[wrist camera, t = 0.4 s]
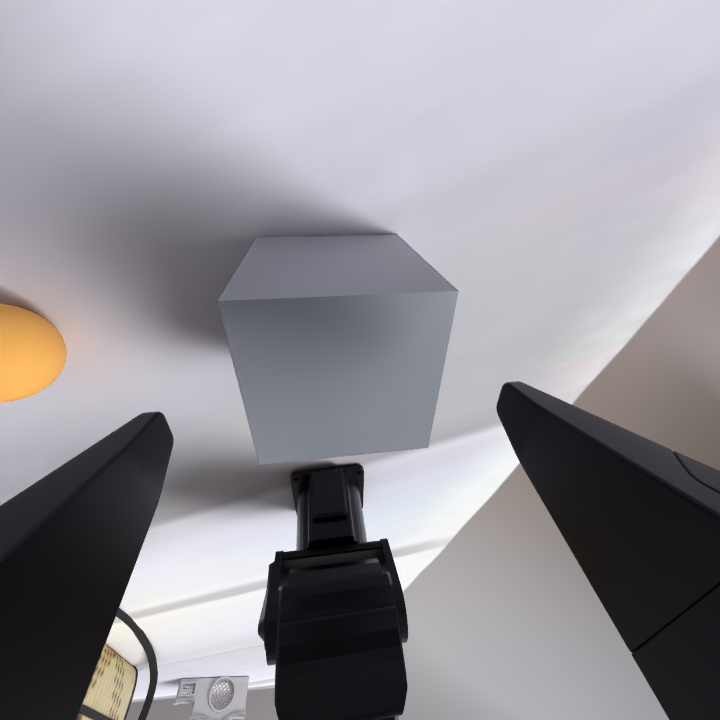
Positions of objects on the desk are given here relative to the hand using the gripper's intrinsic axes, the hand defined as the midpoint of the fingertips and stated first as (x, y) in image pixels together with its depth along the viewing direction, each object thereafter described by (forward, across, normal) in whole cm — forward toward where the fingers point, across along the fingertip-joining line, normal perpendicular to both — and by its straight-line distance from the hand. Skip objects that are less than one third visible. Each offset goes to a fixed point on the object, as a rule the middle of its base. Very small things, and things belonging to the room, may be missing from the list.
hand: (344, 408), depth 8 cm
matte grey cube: (+12, 0, +2) cm, 12 cm away
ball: (+10, +17, +2) cm, 19 cm away
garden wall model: (+15, +23, +72) cm, 77 cm away
